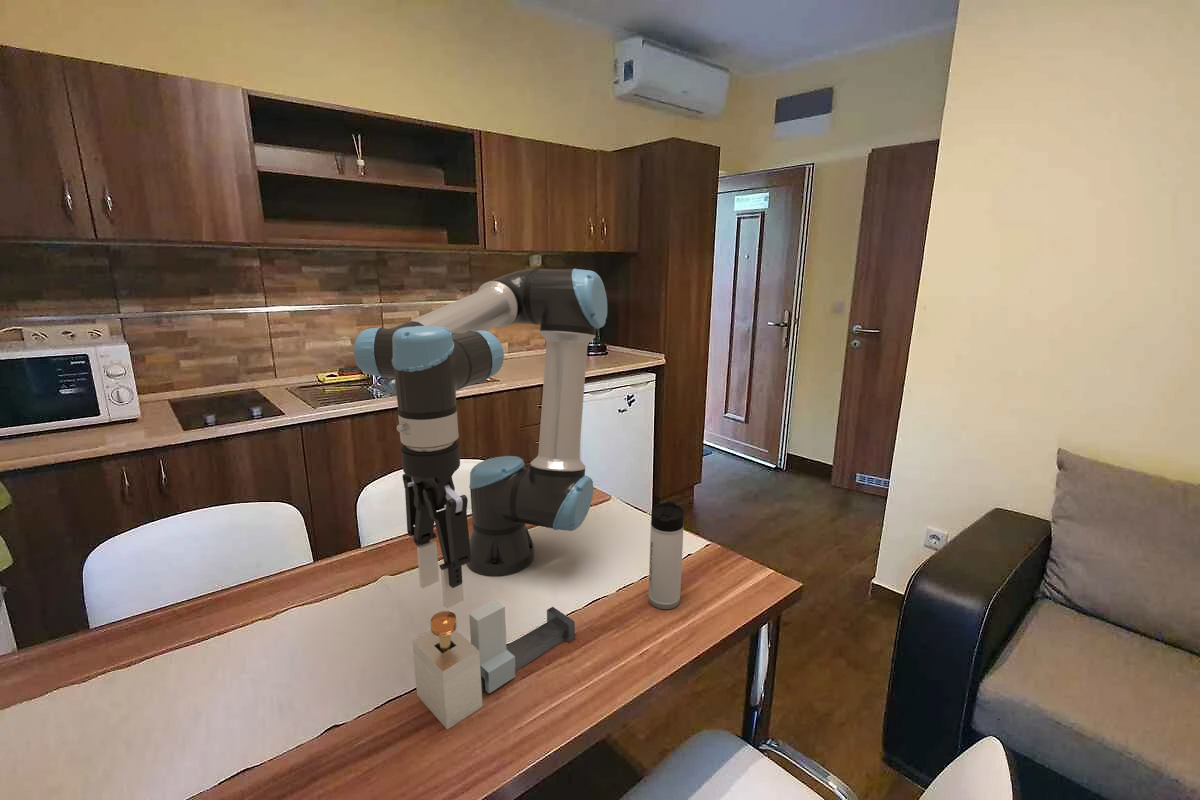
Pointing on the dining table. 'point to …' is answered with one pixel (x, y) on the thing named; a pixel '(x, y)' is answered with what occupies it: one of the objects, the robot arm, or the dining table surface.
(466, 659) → the rail
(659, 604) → the travel mug
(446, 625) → the knob
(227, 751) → the dining table surface
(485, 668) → the carriage
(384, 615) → the dining table surface
